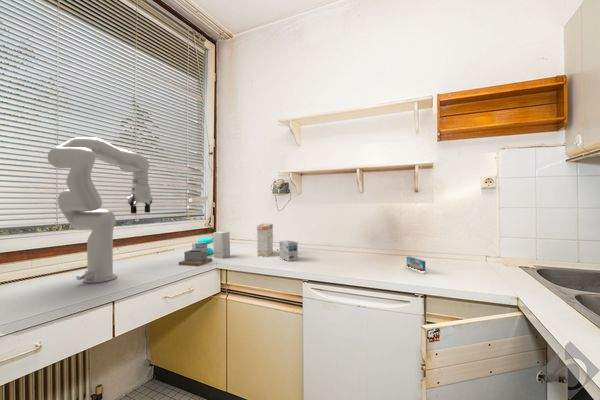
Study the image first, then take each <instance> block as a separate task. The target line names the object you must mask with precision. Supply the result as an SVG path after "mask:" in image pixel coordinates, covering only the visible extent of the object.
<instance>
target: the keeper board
mask: <svg viewBox="0 0 600 400" xmlns="http://www.w3.org/2000/svg"><path fill="white" fill-rule="evenodd" d="M212 261H213V258H212V257H207V260H204V261H201V262H194V261H184V260H181V261H178V265H179V266H188V267H200V266H202V265H205V264H207V263H210V262H212Z"/></svg>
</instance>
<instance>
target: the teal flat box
mask: <svg viewBox="0 0 600 400" xmlns="http://www.w3.org/2000/svg"><path fill="white" fill-rule="evenodd" d="M407 266H408V267H411V268H414V269H417V270H420V271H425V272H426V260H423V259H419V258H416V257H412V256H406V267H407Z"/></svg>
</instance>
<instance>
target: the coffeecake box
mask: <svg viewBox="0 0 600 400" xmlns="http://www.w3.org/2000/svg"><path fill="white" fill-rule="evenodd" d="M273 228H274V226H273V223H267V222H266V223H261V224H258V225H257V226H256V234H257V235H256V239H257V241H256V243H257V246H256V250H257V253H256V255H257V257H260V256H268V255H269V256H270V255H271V254H273V252H274V248H273V247H274V242H273V241H274V236H273V234H274V229H273ZM269 256H268V257H269Z"/></svg>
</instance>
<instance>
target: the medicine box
mask: <svg viewBox="0 0 600 400" xmlns="http://www.w3.org/2000/svg"><path fill="white" fill-rule="evenodd" d="M191 245H192V249H191V250H202V251H207V248H208V244H207V243H206V242H200V243H197V242H194V243H192V244H191Z"/></svg>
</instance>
